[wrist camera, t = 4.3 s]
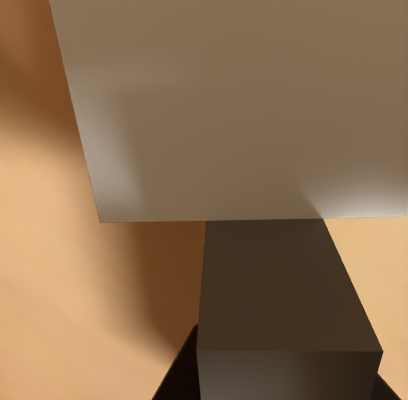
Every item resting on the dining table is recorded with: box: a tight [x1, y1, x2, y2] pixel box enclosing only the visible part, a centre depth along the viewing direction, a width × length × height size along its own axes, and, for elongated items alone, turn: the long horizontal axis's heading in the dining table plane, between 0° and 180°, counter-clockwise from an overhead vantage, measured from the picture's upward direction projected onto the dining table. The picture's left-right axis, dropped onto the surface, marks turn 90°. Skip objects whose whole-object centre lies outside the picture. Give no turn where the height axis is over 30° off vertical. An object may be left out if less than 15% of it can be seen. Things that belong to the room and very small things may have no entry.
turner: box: [49, 0, 408, 400], centre depth 7 cm, size 7×20×4 cm, turn 3°
